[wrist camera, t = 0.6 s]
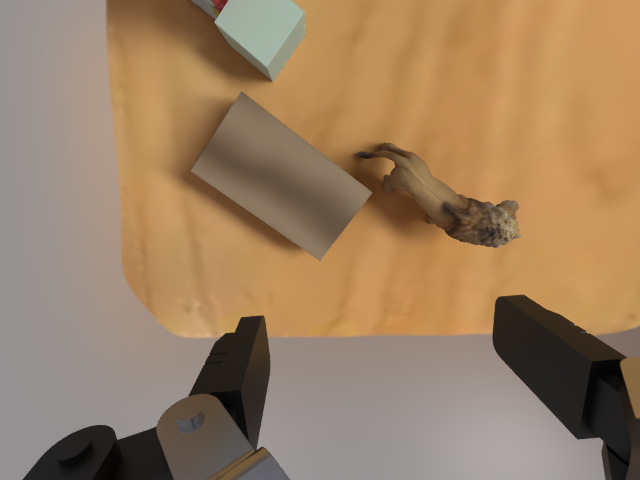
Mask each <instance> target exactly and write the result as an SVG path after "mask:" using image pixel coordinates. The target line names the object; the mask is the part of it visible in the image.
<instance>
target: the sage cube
mask: <svg viewBox="0 0 640 480" xmlns="http://www.w3.org/2000/svg"><path fill="white" fill-rule="evenodd" d="M214 23H215V24H216V26H217V27H218V29H219V30H220V32H221V33H222V35H223V36H224V38H225V39H226V41H227V42H228V44H229V45H230V46H231V47H232V48H233V49H235V50H236V51H237V52H238V53H239V54H241V55H242V56H243V57H244V58H245V59H246V60H248V61H249V62H250V63H251V64H252V65H254V66H255V67H256V68H257V69H258V70H259V71H261V72H262V73H263V74H264V75H265V76H266V77H268V78H269V79H270V80H271V81H272V82H273V81H274V80H275V78H276V77H277V75H278V74H279V72H280V71H281V70H282V68H283V67H284V65H285V64H286V62H287V61H288V60H289V58H290V57H291V55H292V54H293V52H294V51H295V50H296V48H297V47H298V45H299V44H300V42H301V41H302V40H303V38H304V37H305V12H304V11H303V10H302V9H301V8H300V7H299V6H297V5H296V4H295V3H294V2H293V1H292V0H228V2H227V3H226V5H225V6H224V8H223V10H222V11H221V13H220V14H219V16H218V17H217V19H216V21H215V22H214Z"/></svg>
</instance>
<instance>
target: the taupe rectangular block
mask: <svg viewBox="0 0 640 480" xmlns="http://www.w3.org/2000/svg"><path fill="white" fill-rule="evenodd" d="M191 172H193V173H194V174H196V175H197V176H198V177H200V178H201V179H203V180H204V181H206V182H207V183H209V184H210V185H211V186H213V187H214V188H216V189H217V190H219V191H220V192H222V193H223V194H224V195H226V196H227V197H229V198H230V199H232V200H233V201H234V202H236V203H237V204H239V205H240V206H242V207H243V208H245V209H246V210H247V211H249V212H250V213H252V214H253V215H255V216H256V217H258V218H259V219H260V220H262V221H263V222H265V223H266V224H268V225H269V226H271V227H272V228H273V229H275V230H276V231H278V232H279V233H281V234H282V235H283V236H285V237H286V238H288V239H289V240H291V241H292V242H294V243H295V244H296V245H298V246H299V247H301V248H302V249H304V250H305V251H307V252H308V253H309V254H311V255H312V256H314V257H315V258H317V259H318V260H321V259H322V257H323V256H324V255H325V254H326V252H327V251H328V250H329V248H330V247H331V246H332V244H333V243H334V242H335V241H336V239H337V238H338V237H339V235H340V234H341V233H342V232H343V230H344V229H345V228H346V226H347V225H348V224H349V222H350V221H351V220H352V219H353V217H354V216H355V215H356V213H357V212H358V211H359V209H360V208H361V207H362V206H363V204H364V203H365V202H366V200H367V199H368V198H369V196H370V195H371V194H372V192H371V191H370V190H369V189H367V188H366V187H365V186H363V185H362V184H361V183H360V182H358V181H357V180H356V179H354V178H353V177H352V176H351V175H349V174H348V173H347V172H345V171H344V170H343V169H341V168H340V167H339V166H338V165H336V164H335V163H334V162H332V161H331V160H330V159H329V158H327V157H326V156H325V155H323V154H322V153H321V152H319V151H318V150H317V149H316V148H314V147H313V146H312V145H310V144H309V143H308V142H307V141H305V140H304V139H303V138H301V137H300V136H299V135H298V134H296V133H295V132H294V131H292V130H291V129H290V128H288V127H287V126H286V125H285V124H283V123H282V122H281V121H279V120H278V119H277V118H276V117H274V116H273V115H272V114H270V113H269V112H268V111H266V110H265V109H264V108H263V107H261V106H260V105H259V104H257V103H256V102H255V101H254V100H252V99H251V98H250V97H248V96H247V95H246V94H245V93H243V92H242V91H241V93H240V94H239V96H238V97H237V99H236V101H235V102H234V104H233V105H232V107H231V108H230V110H229V112H228V113H227V115H226V116H225V118H224V119H223V121H222V123H221V124H220V126H219V127H218V129H217V130H216V132H215V134H214V135H213V137H212V138H211V140H210V141H209V143H208V144H207V146H206V148H205V149H204V151H203V152H202V154H201V155H200V157H199V159H198V160H197V162H196V163H195V165H194V166H193V168H192V170H191Z"/></svg>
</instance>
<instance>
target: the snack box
mask: <svg viewBox="0 0 640 480" xmlns="http://www.w3.org/2000/svg"><path fill="white" fill-rule="evenodd" d="M191 1H192V2H194V3H195V4H196V5H197V6H199V7H200V8H201V9H202V10H204V11H205V12H206V13H207V14H209V15H210V16H211V17H212V18H213V19H215V20H216V19H217V17H218V16H219V14H220V13H221V11H222V10H223V8H224V6H225V5H226V3H227V2H228V0H191Z"/></svg>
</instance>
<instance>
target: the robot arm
mask: <svg viewBox="0 0 640 480" xmlns="http://www.w3.org/2000/svg"><path fill="white" fill-rule="evenodd" d="M493 345H494V348H495V350H496V352H497V354H498V355H499V356H500V358H501V359H502V360H503V361H504V362H505V363H506V364H507V365H508V366H509V367H510V368H511V369H512V370H513V372H514V373H515V374H516V375H517V376H518V377H519V378H520V379H521V380H522V381H523V382H524V383H525V384H526V385H527V386H528V387H529V388H530V390H531V391H532V392H533V393H534V394H535V395H536V396H537V397H538V398H539V399H540V400H541V401H542V402H543V403H544V404H545V405H546V407H548V409H549V410H550V411H551V412H552V413H553V414H554V415H555V416H556V417H557V418H558V419H559V420H560V421H561V422H562V423H563V425H565V427H566V428H567V429H568V430H569V431H570V432H571V433H572V434H573V435H574V436H575V437H576V438H577V439H587V438H599V437H600V438H601V439H602V440H603V441H604V442H603V447H602V460H603V467H604V473H605V479H606V480H640V357H630V358H627V357H626V356H624V355H622V354H621V353H619V352H618V351H616V350H615V349H613V348H611V347H610V346H608V345H607V344H605V343H604V342H602V341H601V340H599V339H597V338H596V337H594V336H593V335H591V334H590V333H589V334H587V332H586V331H585V330H583V329H582V328H580V327H579V326H575V324H574V323H572V322H571V321H569V320H568V319H566V318H565V317H563V316H561V315H559V314H557V313H554V312H552V311H549V310H547V309H545V308H543V307H542V306H540V305H539V304H537V303H536V302H534V301H533V300H531V299H530V298H528V297H527V296H525V295H513V296H501V297H498V298H497V300H496V303H495V313H494V325H493ZM269 376H270V353H269V346H268V338H267V330H266V323H265V318H264V316H263V315H262V316H250V317H241V319H240V321H239V324H238V326H237V328H236V331H235V333H225V334H224V335H223V336H222V337H221V338H220V339H219V340H218V341H216V342H215V344H214V346H213V348H212V350H211V352H210V356H208V358H207V360H206V362H205V365H204V366H203V368H202V370H201V372H200V374H199V376H198V378H197V380H196V382H195V384H194V386H193V388H192V390H191V392H190V394H189V396H188V397H186V398H184V399H182V400H180V401H178V402H176V403H175V404H173V405H172V406H171V407H170V408H168V409H167V410H166V411H165V412H164V414H163V415H162V416H161V417H160V420H159V421H158V424H157V426H156V427H154V428H152V429H149V430H146V431H143V432H140V433H138V434H134V435H132V436H128V437H125V438H122V439H119V440H117V438H116V435H115V431H114V430H113V429H112V428H111V427H109V426H106V425H95V426H90V427H87V428H84V429H81V430H78V431H76V432H74V433H72V434H70V435H68V436H67V437H65V438H63V439H62V440H60V441H59V442H57V443H56V444H55V445H53V446H52V447H51V448H50V449H49V450H48V451H47V452H46V453H44V455H43V456H42V457H41V458H40V459H39V460H38V461H37V463H36V464H35V465H34V467H33V468H32V469H31V470H30V471H29V473H28V474H27V475H26V476H25V477H24V479H23V480H290V479H289V477H288V476H287V475H286V473H285V472H284V470H283V469H282V468H281V467H280V465H279V464H278V463H277V461H276V460H275V459H274V457H273V456H272V455H271V453H270V452H269V451H268V450H267V449H266V448H264V447H261V448H259V449H258V450H256V449H257V443H258V437H259V432H260V427H261V421H262V415H263V410H264V404H265V398H266V392H267V387H268V381H269Z"/></svg>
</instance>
